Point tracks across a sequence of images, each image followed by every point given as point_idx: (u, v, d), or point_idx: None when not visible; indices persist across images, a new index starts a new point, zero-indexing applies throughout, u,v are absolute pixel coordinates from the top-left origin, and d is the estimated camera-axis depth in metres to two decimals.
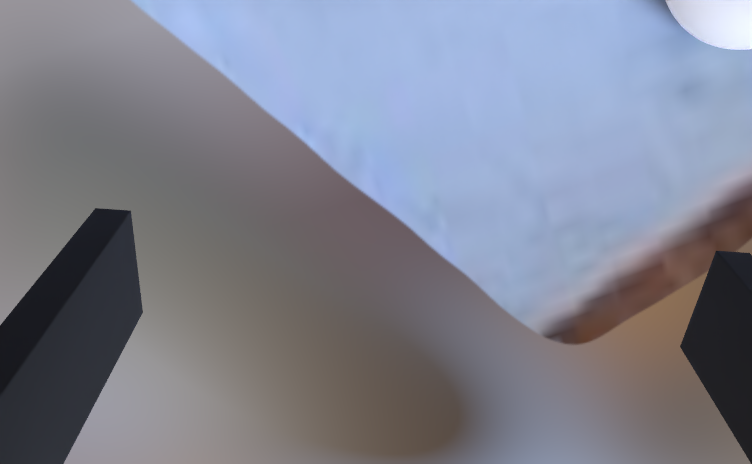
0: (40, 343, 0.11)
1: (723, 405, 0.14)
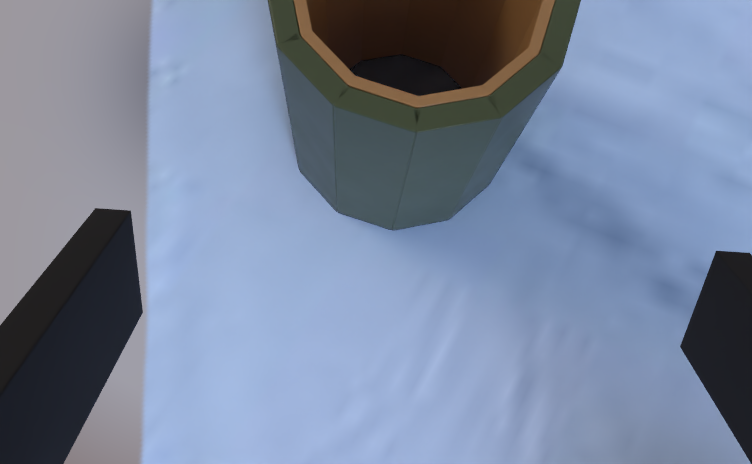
0: (40, 343, 0.11)
1: (722, 405, 0.14)
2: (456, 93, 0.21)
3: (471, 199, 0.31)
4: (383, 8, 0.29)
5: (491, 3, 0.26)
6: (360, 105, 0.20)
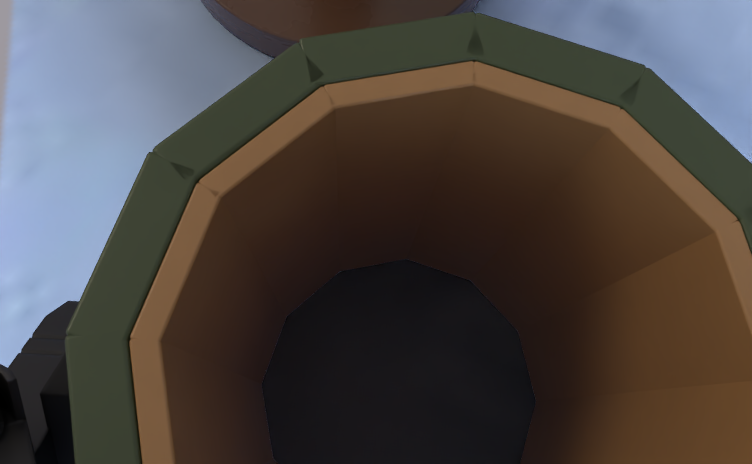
0: None
1: None
2: None
3: None
4: (374, 228, 0.16)
5: (587, 267, 0.13)
6: None
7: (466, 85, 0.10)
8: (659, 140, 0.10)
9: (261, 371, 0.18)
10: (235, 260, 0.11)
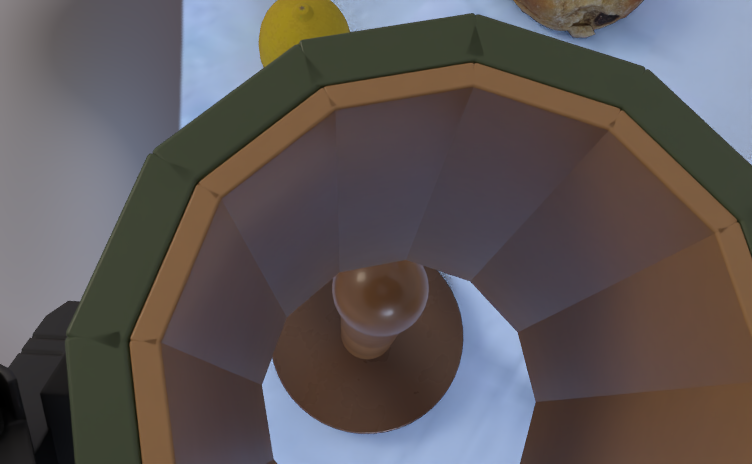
0: None
1: None
2: None
3: None
4: (374, 229, 0.16)
5: (587, 268, 0.13)
6: None
7: (466, 87, 0.10)
8: (659, 142, 0.10)
9: (261, 372, 0.18)
10: (235, 261, 0.11)
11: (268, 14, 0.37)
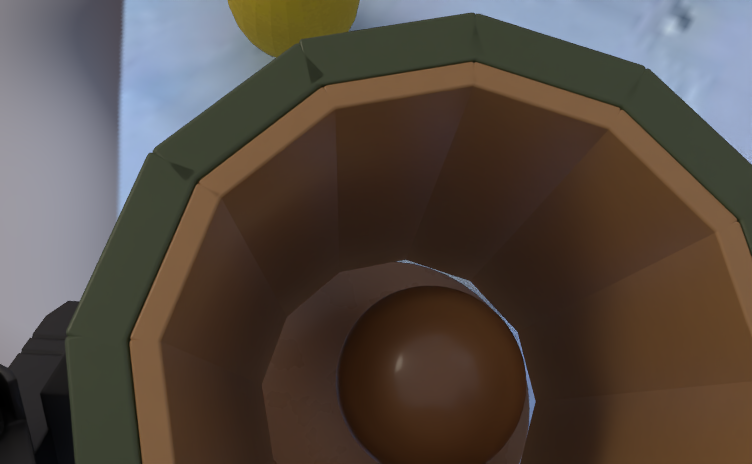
0: None
1: None
2: None
3: None
4: (374, 229, 0.16)
5: (587, 267, 0.13)
6: None
7: (466, 86, 0.10)
8: (659, 141, 0.10)
9: (261, 372, 0.18)
10: (235, 261, 0.11)
11: None
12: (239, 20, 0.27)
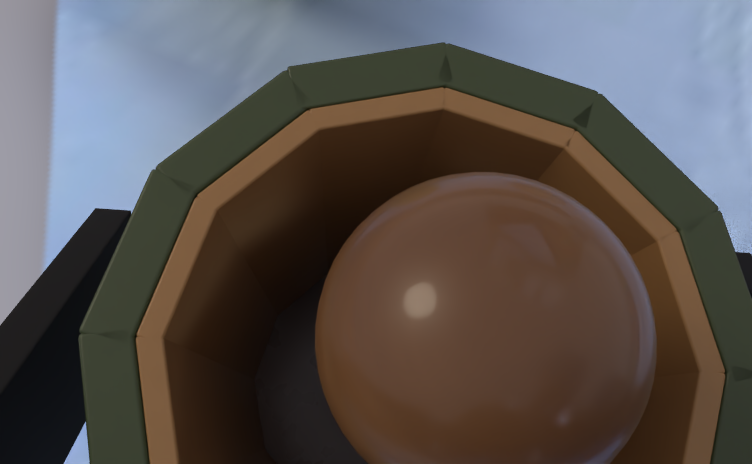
0: (40, 343, 0.11)
1: None
2: None
3: None
4: None
5: None
6: None
7: (437, 109, 0.11)
8: (608, 159, 0.11)
9: (253, 367, 0.19)
10: (229, 265, 0.12)
11: None
12: None
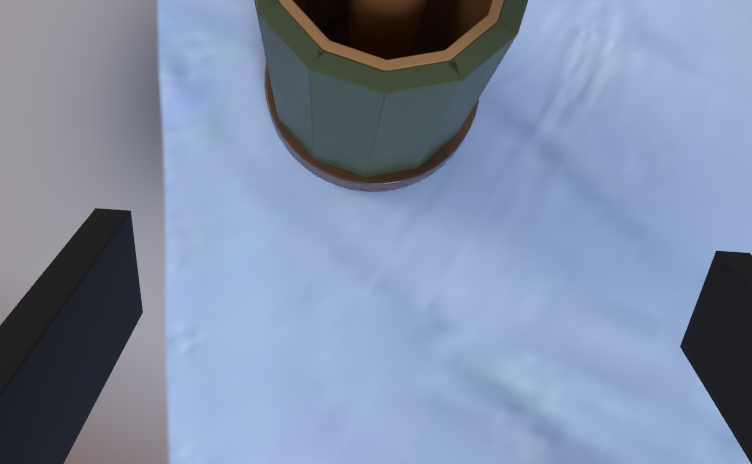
0: (40, 343, 0.11)
1: (723, 405, 0.14)
2: (421, 57, 0.23)
3: (439, 148, 0.33)
4: None
5: None
6: (334, 68, 0.22)
7: None
8: None
9: None
10: None
11: None
12: None
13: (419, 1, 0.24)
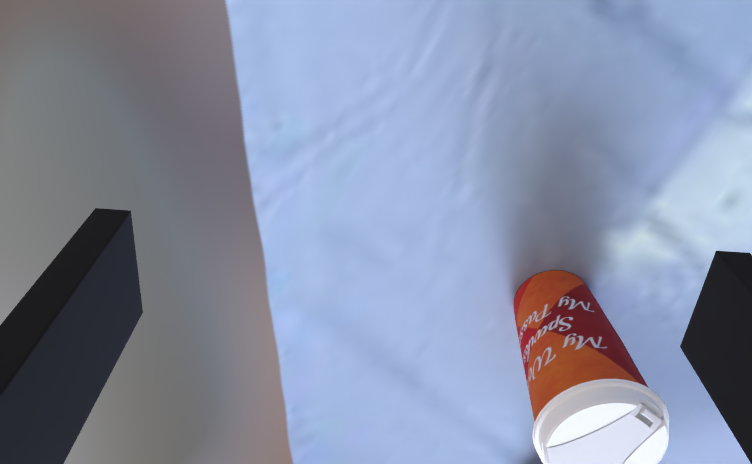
0: (40, 343, 0.11)
1: (723, 405, 0.14)
2: None
3: None
4: None
5: None
6: None
7: None
8: None
9: None
10: None
11: None
12: None
13: None
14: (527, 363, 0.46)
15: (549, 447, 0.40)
